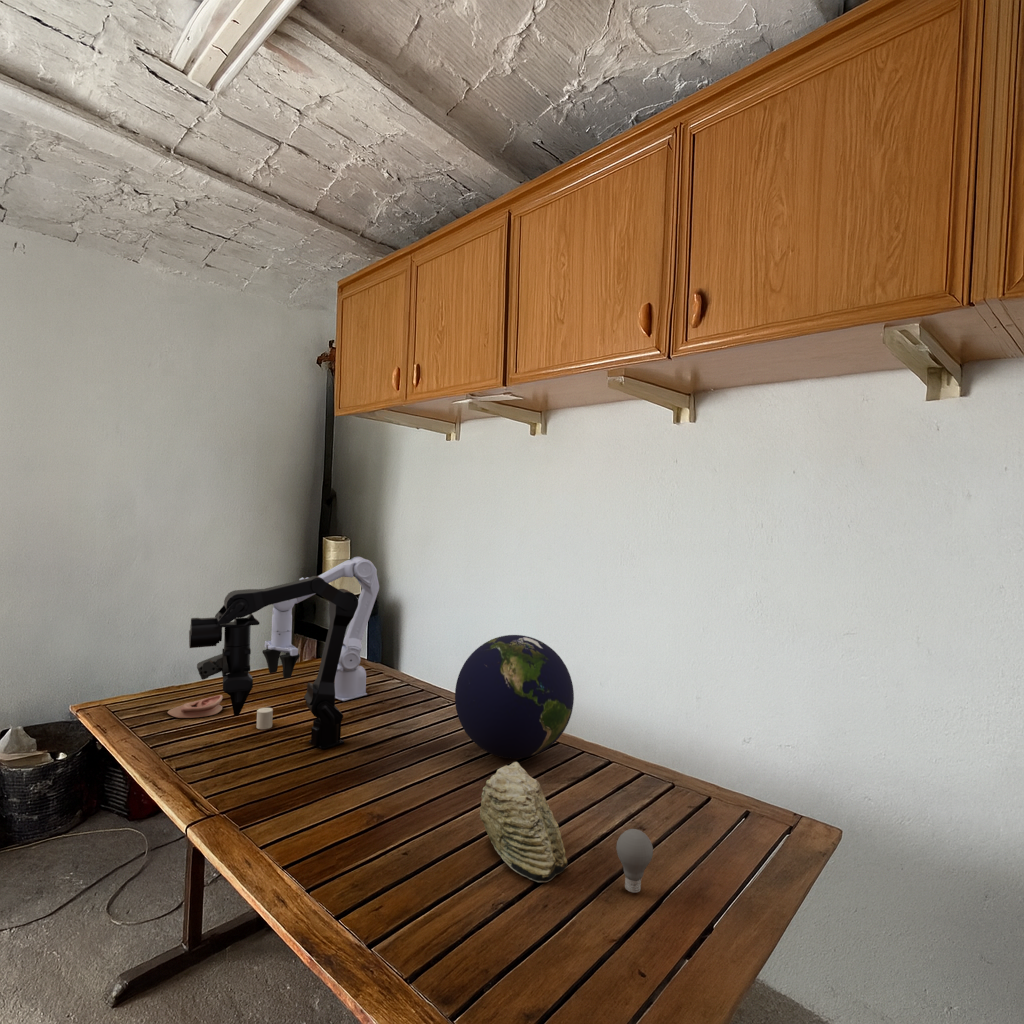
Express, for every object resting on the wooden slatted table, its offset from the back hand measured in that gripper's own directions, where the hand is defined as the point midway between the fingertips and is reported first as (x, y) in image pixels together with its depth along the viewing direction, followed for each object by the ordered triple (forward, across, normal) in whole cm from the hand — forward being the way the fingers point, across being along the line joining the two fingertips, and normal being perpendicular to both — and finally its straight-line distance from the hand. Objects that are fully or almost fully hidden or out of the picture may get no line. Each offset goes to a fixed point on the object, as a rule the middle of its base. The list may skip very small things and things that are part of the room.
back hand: (280, 675), depth 191 cm
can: (+8, +14, -14) cm, 22 cm away
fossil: (+9, +104, -17) cm, 106 cm away
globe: (+9, +75, +18) cm, 78 cm away
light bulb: (+9, +124, -13) cm, 125 cm away
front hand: (-3, +28, -29) cm, 40 cm away
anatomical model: (+8, -9, -21) cm, 24 cm away
